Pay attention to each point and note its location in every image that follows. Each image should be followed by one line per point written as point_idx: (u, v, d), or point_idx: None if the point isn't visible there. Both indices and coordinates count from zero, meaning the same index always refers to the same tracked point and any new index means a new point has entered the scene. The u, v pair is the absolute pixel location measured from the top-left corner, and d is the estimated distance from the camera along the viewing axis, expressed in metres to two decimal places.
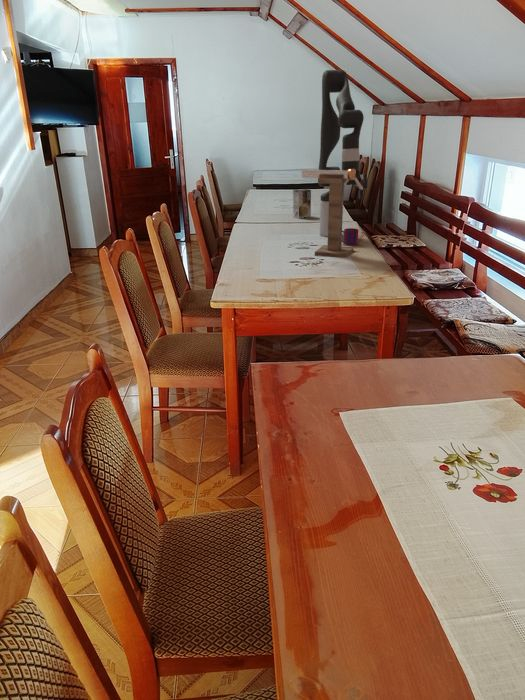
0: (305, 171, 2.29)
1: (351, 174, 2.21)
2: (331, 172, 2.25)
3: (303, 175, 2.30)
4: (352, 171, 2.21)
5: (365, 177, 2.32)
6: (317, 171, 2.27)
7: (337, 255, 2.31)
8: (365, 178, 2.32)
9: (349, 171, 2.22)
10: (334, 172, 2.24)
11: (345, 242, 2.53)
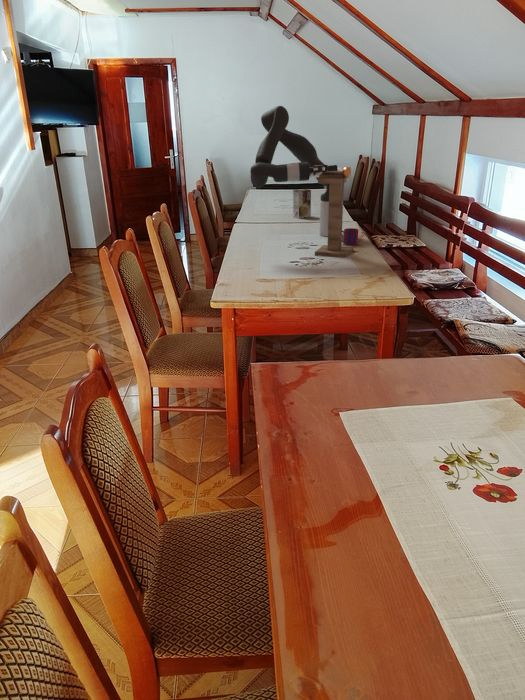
0: None
1: (346, 174, 2.22)
2: (326, 172, 2.25)
3: None
4: (347, 171, 2.21)
5: (317, 172, 2.21)
6: None
7: (337, 255, 2.31)
8: (318, 172, 2.21)
9: (344, 171, 2.22)
10: (329, 172, 2.25)
11: (345, 242, 2.53)
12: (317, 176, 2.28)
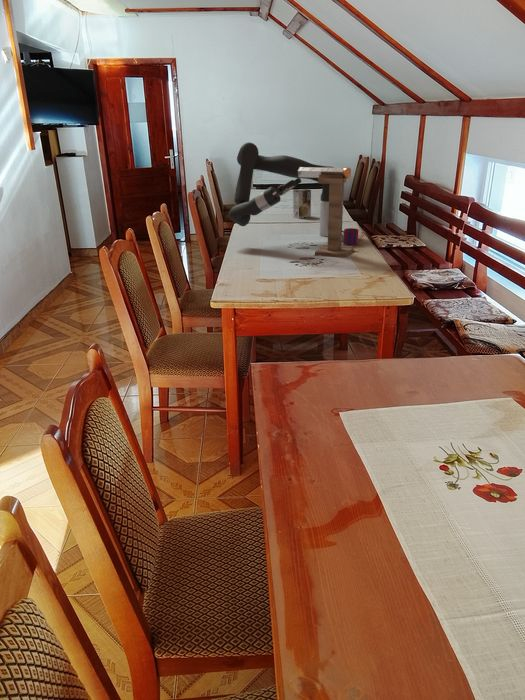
0: (301, 171, 2.29)
1: (346, 175, 2.22)
2: (326, 172, 2.25)
3: (299, 175, 2.31)
4: (347, 172, 2.21)
5: (277, 195, 2.32)
6: (312, 172, 2.27)
7: (337, 255, 2.31)
8: (277, 194, 2.32)
9: (344, 172, 2.22)
10: (329, 173, 2.25)
11: (345, 242, 2.53)
12: (317, 176, 2.28)
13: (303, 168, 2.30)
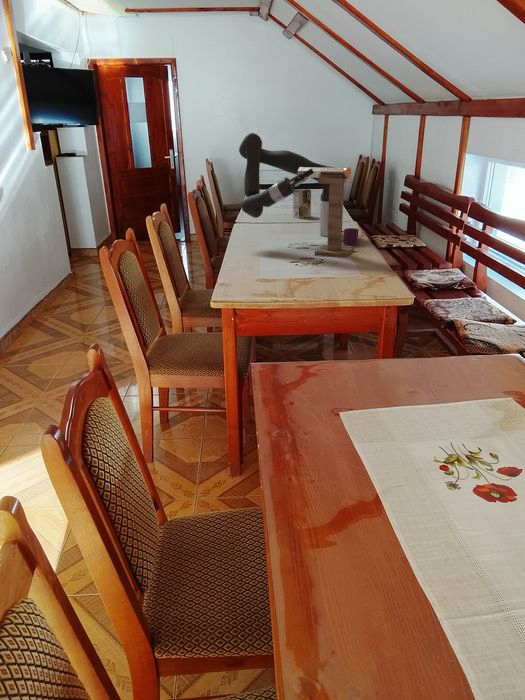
0: (301, 172, 2.29)
1: (346, 175, 2.22)
2: (326, 172, 2.25)
3: None
4: (347, 172, 2.21)
5: (294, 184, 2.28)
6: None
7: (337, 255, 2.31)
8: (295, 183, 2.28)
9: (344, 172, 2.22)
10: (329, 173, 2.25)
11: (345, 242, 2.53)
12: (317, 176, 2.28)
13: (303, 168, 2.30)
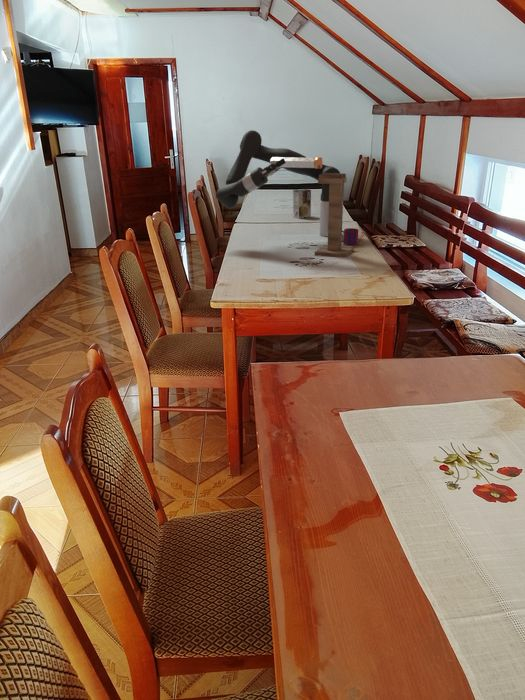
0: (273, 161, 2.32)
1: (317, 165, 2.25)
2: (298, 162, 2.28)
3: None
4: (318, 162, 2.24)
5: (266, 174, 2.31)
6: None
7: (337, 255, 2.31)
8: (267, 173, 2.31)
9: (315, 162, 2.25)
10: (301, 162, 2.28)
11: (345, 242, 2.53)
12: (289, 166, 2.31)
13: (275, 158, 2.32)
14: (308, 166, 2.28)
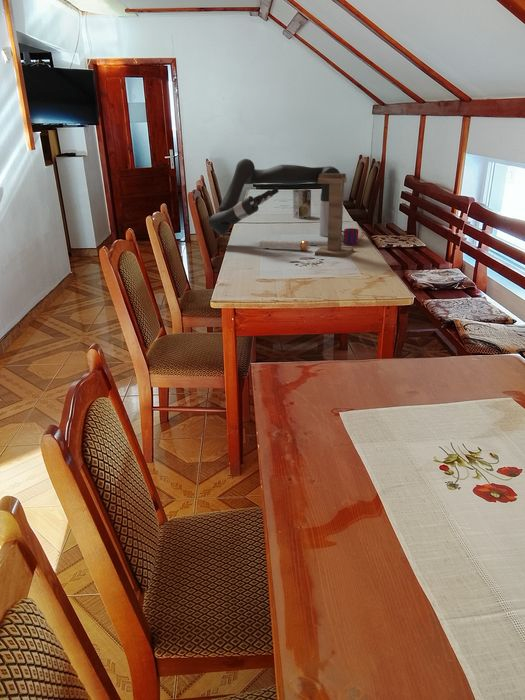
0: (262, 243, 2.48)
1: (303, 246, 2.41)
2: (286, 244, 2.44)
3: (261, 246, 2.49)
4: (304, 243, 2.41)
5: (254, 204, 2.38)
6: (273, 243, 2.46)
7: (337, 255, 2.31)
8: (255, 204, 2.37)
9: (301, 243, 2.41)
10: (288, 244, 2.44)
11: (345, 242, 2.53)
12: (277, 247, 2.46)
13: (265, 241, 2.50)
14: (294, 248, 2.43)
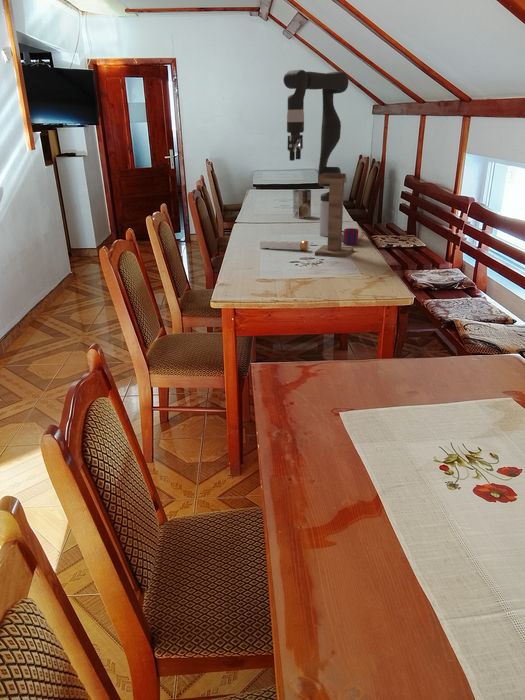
0: (262, 243, 2.48)
1: (303, 246, 2.41)
2: (286, 244, 2.44)
3: (261, 246, 2.49)
4: (304, 243, 2.41)
5: None
6: (273, 243, 2.46)
7: (337, 255, 2.31)
8: None
9: (301, 243, 2.41)
10: (288, 244, 2.44)
11: (345, 242, 2.53)
12: (277, 247, 2.46)
13: (265, 241, 2.50)
14: (294, 248, 2.43)
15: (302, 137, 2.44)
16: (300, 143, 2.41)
